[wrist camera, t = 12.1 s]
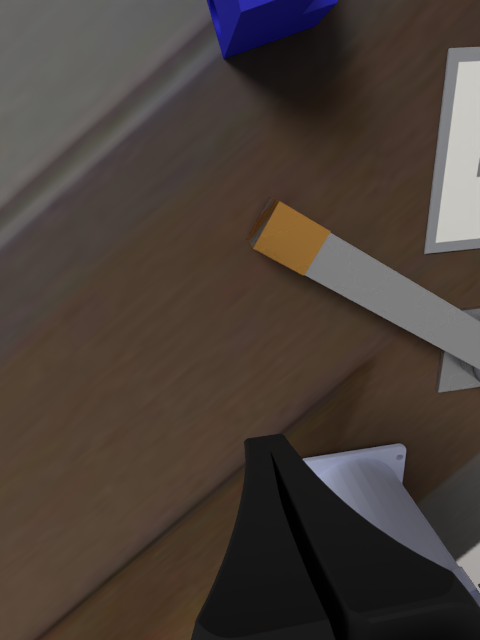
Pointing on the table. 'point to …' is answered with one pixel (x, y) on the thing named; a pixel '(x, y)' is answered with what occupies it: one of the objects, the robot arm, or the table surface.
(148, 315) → the table surface
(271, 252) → the orange-tipped grey bar
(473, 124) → the label
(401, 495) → the robot arm
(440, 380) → the pivot base
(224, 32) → the blue cradle mount
